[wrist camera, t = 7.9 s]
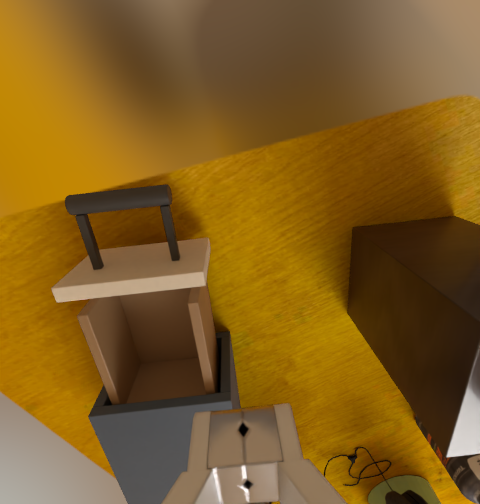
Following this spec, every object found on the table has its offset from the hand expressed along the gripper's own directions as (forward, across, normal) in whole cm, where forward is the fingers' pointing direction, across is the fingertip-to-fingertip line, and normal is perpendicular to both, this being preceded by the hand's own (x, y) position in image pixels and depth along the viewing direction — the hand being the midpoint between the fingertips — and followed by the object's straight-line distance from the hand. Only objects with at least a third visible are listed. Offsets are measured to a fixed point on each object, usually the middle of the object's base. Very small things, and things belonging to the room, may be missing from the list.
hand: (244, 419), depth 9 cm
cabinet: (+19, +7, +19) cm, 28 cm away
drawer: (+18, +7, +4) cm, 20 cm away
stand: (+19, -16, +6) cm, 26 cm away
